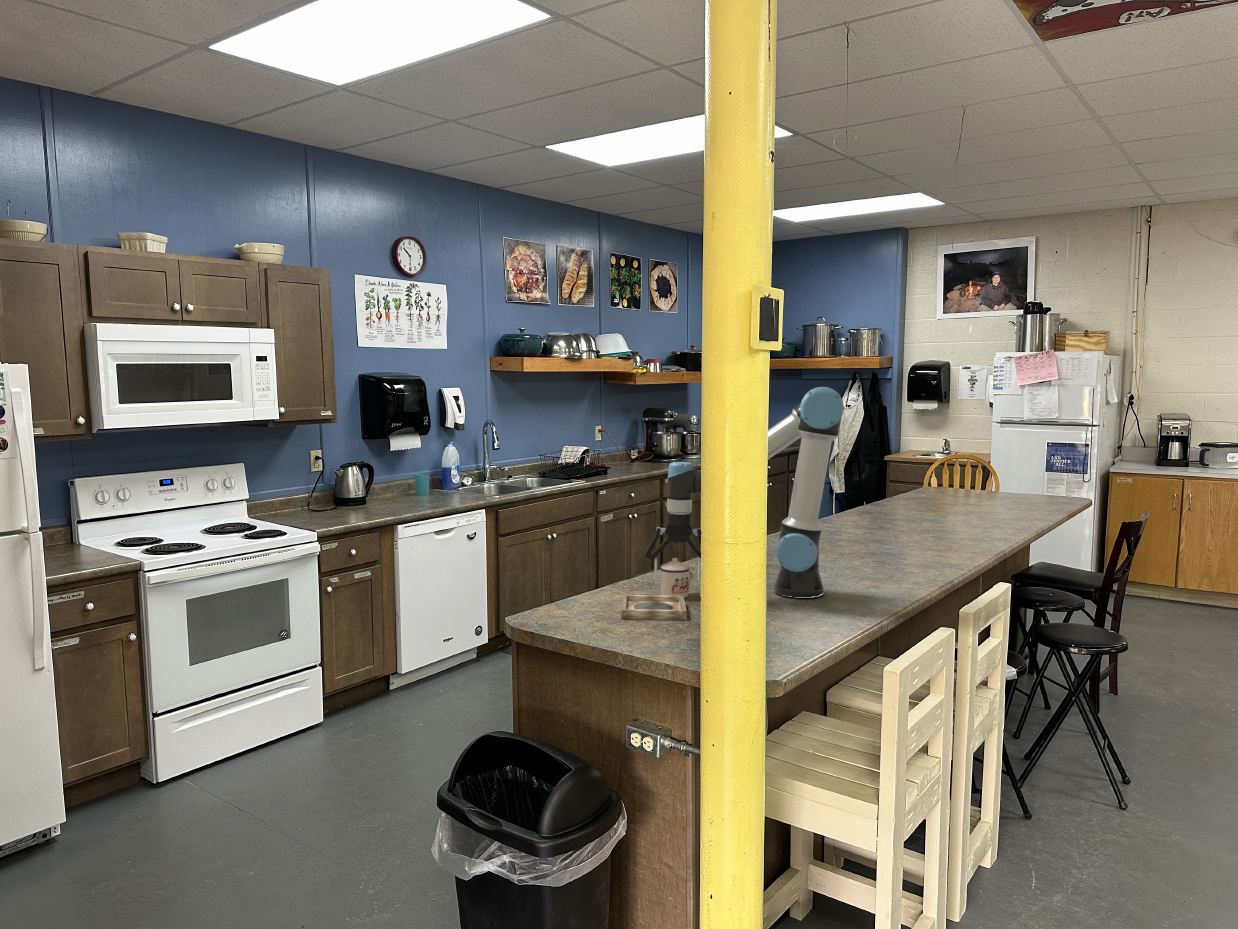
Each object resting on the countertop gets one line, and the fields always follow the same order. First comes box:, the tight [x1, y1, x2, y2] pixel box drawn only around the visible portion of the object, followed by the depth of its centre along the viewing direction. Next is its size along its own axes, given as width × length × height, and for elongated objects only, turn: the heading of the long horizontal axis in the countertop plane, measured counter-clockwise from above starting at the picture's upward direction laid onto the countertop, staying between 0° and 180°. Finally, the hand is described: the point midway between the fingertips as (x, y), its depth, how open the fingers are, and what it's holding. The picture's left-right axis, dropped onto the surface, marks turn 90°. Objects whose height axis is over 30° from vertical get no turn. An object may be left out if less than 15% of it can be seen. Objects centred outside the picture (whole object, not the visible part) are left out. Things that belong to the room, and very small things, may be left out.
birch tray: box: [620, 594, 688, 621], centre depth 236 cm, size 18×17×2 cm
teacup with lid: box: [659, 557, 694, 598], centre depth 255 cm, size 12×9×12 cm
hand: (677, 580), depth 255 cm, fingers open, 13 cm apart
